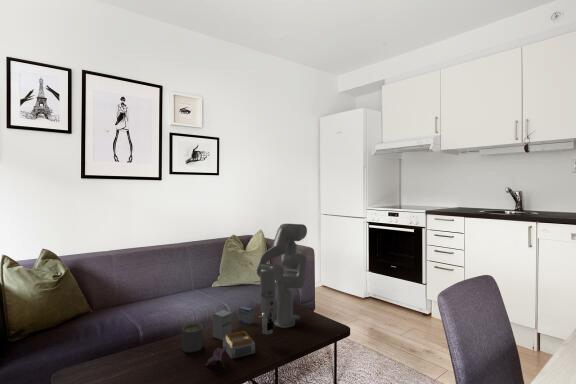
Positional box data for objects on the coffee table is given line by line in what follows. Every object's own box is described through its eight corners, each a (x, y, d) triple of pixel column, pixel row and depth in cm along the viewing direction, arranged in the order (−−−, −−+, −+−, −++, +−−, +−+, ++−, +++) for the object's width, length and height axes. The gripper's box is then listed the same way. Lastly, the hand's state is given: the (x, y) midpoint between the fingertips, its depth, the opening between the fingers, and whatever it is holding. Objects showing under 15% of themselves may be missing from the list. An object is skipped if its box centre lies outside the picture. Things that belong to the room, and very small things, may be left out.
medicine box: (238, 322, 197) (238, 307, 197) (242, 319, 201) (242, 305, 201) (249, 325, 193) (249, 310, 193) (253, 322, 197) (253, 308, 197)
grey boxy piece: (244, 341, 173) (245, 328, 173) (255, 353, 160) (255, 340, 160) (222, 345, 167) (222, 333, 167) (231, 359, 154) (231, 345, 154)
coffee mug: (203, 350, 163) (204, 330, 162) (182, 353, 159) (183, 333, 159) (199, 338, 175) (200, 319, 175) (180, 341, 171) (180, 322, 171)
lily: (231, 360, 155) (223, 340, 157) (238, 361, 145) (229, 341, 147) (208, 375, 149) (199, 354, 151) (213, 377, 139) (204, 355, 141)
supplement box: (221, 340, 173) (221, 316, 173) (212, 336, 177) (212, 313, 177) (232, 335, 179) (232, 312, 179) (222, 332, 183) (223, 309, 183)
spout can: (270, 328, 172) (270, 309, 172) (274, 332, 167) (274, 313, 167) (256, 331, 169) (256, 312, 168) (260, 336, 164) (260, 316, 163)
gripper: (281, 296, 162) (281, 332, 162) (267, 286, 177) (267, 319, 178) (267, 299, 158) (267, 336, 159) (254, 288, 173) (254, 322, 174)
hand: (267, 327), depth 168 cm, fingers closed on spout can, 5 cm apart
